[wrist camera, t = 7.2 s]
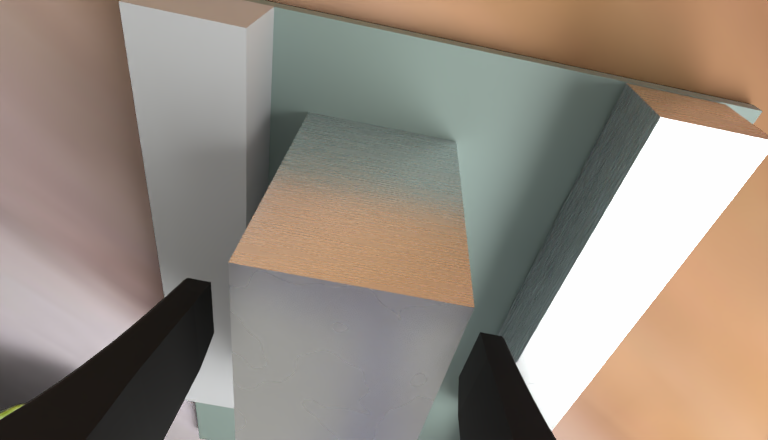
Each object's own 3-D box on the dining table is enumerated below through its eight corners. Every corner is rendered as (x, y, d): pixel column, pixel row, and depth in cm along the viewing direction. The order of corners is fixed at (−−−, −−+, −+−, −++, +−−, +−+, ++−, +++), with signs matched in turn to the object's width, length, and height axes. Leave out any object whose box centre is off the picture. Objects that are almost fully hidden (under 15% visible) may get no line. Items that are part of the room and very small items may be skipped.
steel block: (393, 348, 18) (380, 524, 13) (291, 330, 17) (237, 501, 13) (456, 141, 12) (474, 307, 7) (308, 111, 12) (228, 262, 7)
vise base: (488, 479, 24) (493, 531, 22) (202, 430, 23) (182, 480, 21) (752, 104, 11) (819, 148, 9) (152, -24, 11) (92, -5, 9)
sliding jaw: (476, 477, 23) (485, 586, 19) (427, 469, 23) (427, 577, 19) (725, 104, 11) (867, 207, 7) (626, 82, 11) (722, 178, 7)
